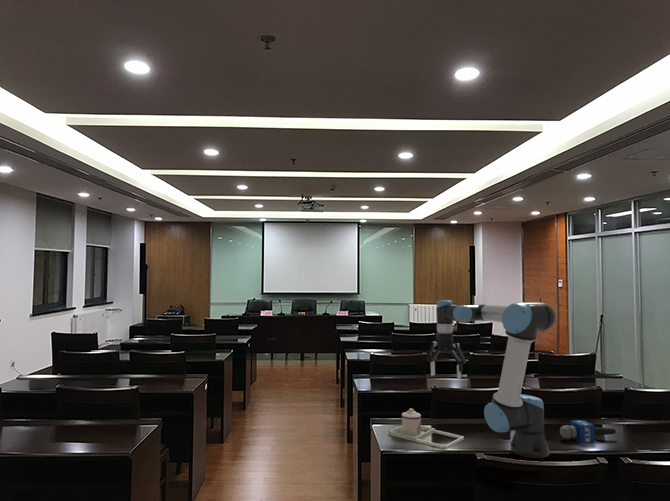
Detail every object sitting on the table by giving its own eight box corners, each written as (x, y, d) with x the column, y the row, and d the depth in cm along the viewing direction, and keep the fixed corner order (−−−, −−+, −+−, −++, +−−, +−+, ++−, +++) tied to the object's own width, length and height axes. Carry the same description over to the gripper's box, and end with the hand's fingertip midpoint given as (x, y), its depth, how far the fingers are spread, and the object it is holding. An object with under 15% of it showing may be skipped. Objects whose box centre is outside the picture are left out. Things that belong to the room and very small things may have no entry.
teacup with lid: (422, 437, 222) (421, 411, 222) (401, 437, 222) (401, 411, 223) (419, 429, 234) (419, 405, 234) (400, 429, 234) (400, 404, 235)
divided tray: (464, 439, 220) (464, 435, 220) (445, 449, 207) (445, 445, 207) (409, 426, 239) (409, 422, 239) (389, 434, 226) (389, 430, 226)
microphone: (619, 424, 217) (565, 425, 216) (620, 442, 217) (566, 443, 215) (608, 419, 225) (556, 420, 224) (609, 436, 225) (557, 437, 223)
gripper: (472, 333, 230) (473, 378, 229) (425, 330, 246) (426, 373, 244) (466, 334, 224) (467, 381, 223) (418, 331, 240) (418, 375, 238)
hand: (445, 377), depth 233 cm, fingers open, 13 cm apart
